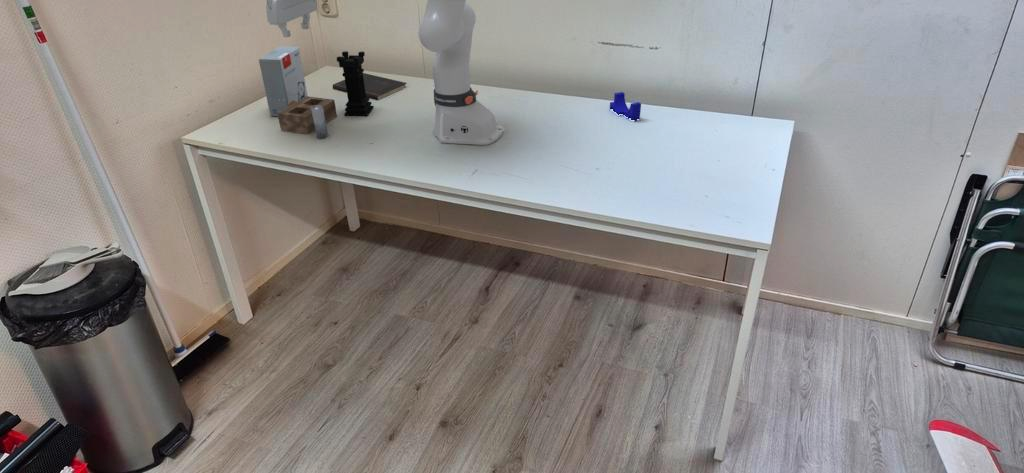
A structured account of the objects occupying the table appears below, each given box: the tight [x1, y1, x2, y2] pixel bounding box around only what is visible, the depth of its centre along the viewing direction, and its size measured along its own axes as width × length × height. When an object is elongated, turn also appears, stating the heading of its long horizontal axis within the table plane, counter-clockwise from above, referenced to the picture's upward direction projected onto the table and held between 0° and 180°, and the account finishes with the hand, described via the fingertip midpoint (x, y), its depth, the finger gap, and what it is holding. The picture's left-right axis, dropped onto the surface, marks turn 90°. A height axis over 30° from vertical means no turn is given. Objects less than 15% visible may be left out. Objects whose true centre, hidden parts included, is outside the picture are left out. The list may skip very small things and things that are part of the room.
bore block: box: [277, 95, 338, 135], centre depth 217 cm, size 11×16×6 cm
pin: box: [311, 105, 329, 140], centre depth 207 cm, size 4×4×10 cm
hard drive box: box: [258, 45, 308, 117], centre depth 225 cm, size 16×8×20 cm, turn 171°
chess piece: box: [336, 50, 375, 118], centre depth 221 cm, size 8×8×20 cm
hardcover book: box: [332, 72, 407, 101], centre depth 246 cm, size 16×23×2 cm
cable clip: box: [609, 91, 642, 120], centre depth 218 cm, size 12×4×6 cm, turn 22°
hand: (296, 32), depth 203 cm, fingers open, 8 cm apart
